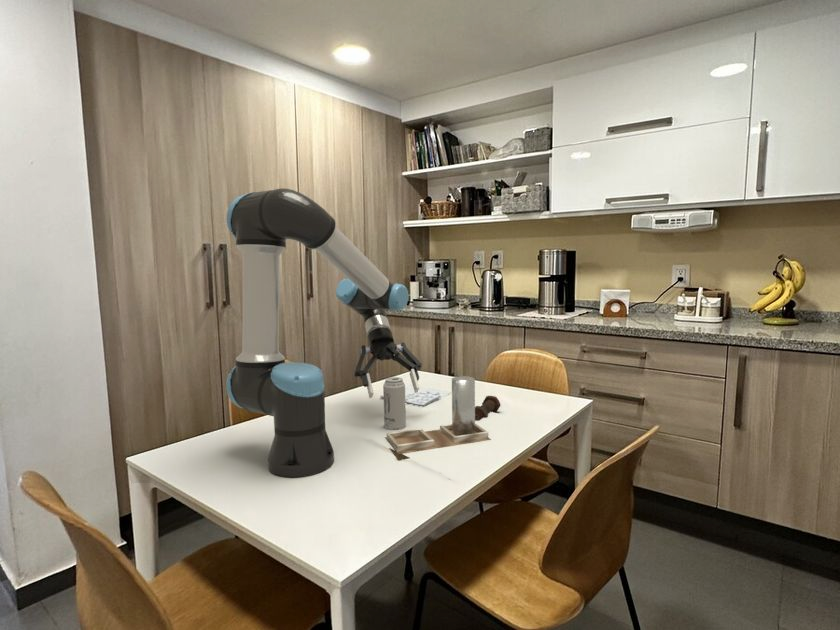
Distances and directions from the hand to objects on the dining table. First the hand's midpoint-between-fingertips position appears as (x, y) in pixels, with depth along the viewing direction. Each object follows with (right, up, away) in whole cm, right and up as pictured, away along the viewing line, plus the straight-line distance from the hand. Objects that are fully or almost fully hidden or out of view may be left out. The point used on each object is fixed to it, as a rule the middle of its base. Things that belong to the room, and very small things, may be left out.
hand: (394, 393), depth 135 cm
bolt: (+26, -9, +9) cm, 29 cm away
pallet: (+12, -11, -12) cm, 20 cm away
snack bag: (+6, -7, +34) cm, 35 cm away
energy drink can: (0, -11, -2) cm, 11 cm away
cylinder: (+19, -9, -9) cm, 23 cm away
